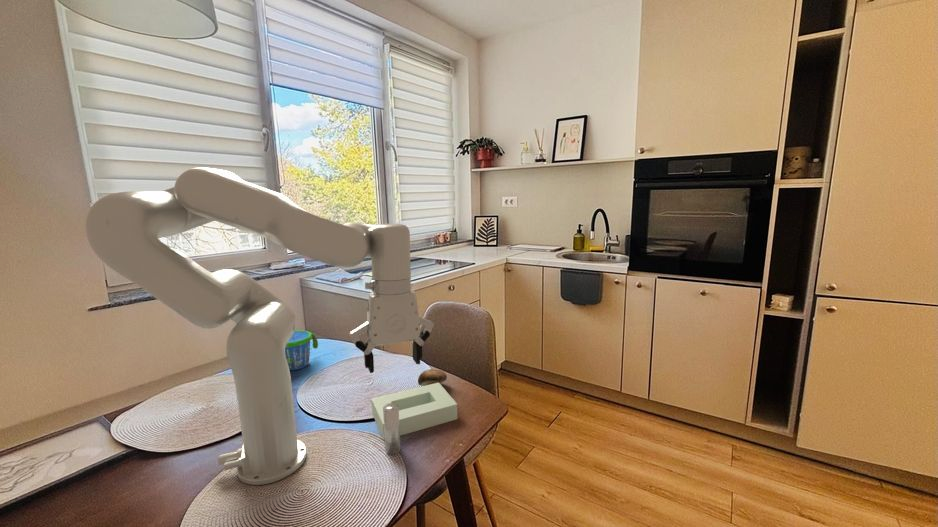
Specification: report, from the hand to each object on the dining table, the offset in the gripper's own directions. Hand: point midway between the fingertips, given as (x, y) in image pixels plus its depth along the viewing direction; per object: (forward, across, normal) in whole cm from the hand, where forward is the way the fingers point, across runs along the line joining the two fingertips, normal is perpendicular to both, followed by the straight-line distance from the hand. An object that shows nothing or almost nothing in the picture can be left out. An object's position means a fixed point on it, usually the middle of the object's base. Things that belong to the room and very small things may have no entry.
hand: (394, 365), depth 80 cm
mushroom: (+19, +16, +21) cm, 32 cm away
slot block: (+19, +7, +10) cm, 22 cm away
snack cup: (+20, -19, +53) cm, 60 cm away
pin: (+19, -1, -1) cm, 19 cm away
